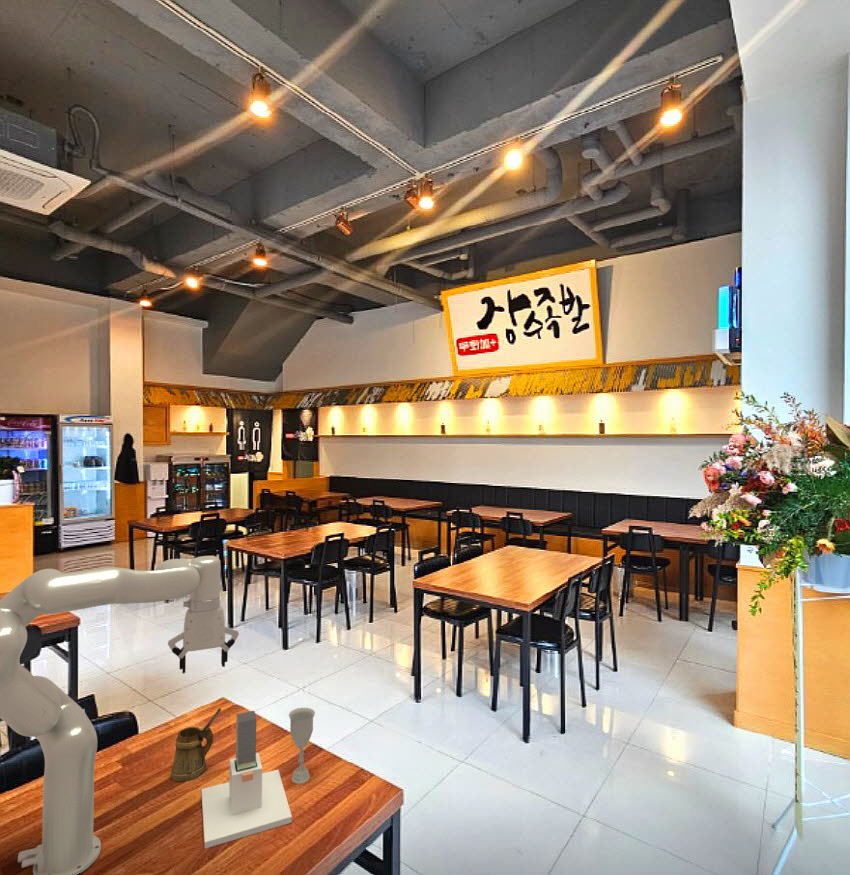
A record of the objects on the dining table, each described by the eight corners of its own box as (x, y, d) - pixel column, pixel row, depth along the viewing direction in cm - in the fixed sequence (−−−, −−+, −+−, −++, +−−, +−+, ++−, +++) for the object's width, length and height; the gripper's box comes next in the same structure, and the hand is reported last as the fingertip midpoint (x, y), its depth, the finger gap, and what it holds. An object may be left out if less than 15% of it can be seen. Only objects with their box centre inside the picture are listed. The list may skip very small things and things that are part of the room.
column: (237, 786, 130) (238, 722, 130) (235, 775, 134) (236, 714, 134) (255, 781, 132) (256, 718, 132) (253, 771, 136) (254, 710, 136)
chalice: (317, 770, 148) (318, 708, 148) (309, 786, 142) (310, 721, 142) (292, 768, 149) (293, 706, 149) (283, 784, 142) (284, 719, 142)
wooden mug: (214, 781, 143) (215, 716, 143) (165, 782, 143) (166, 717, 143) (225, 761, 152) (226, 700, 152) (179, 761, 152) (180, 700, 152)
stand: (204, 848, 120) (205, 799, 120) (201, 794, 138) (202, 751, 138) (291, 822, 128) (292, 776, 128) (278, 774, 146) (278, 734, 146)
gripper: (168, 612, 130) (167, 680, 130) (240, 603, 137) (239, 668, 137) (168, 603, 137) (167, 668, 137) (237, 596, 144) (236, 657, 144)
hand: (203, 668), depth 137 cm, fingers open, 9 cm apart
